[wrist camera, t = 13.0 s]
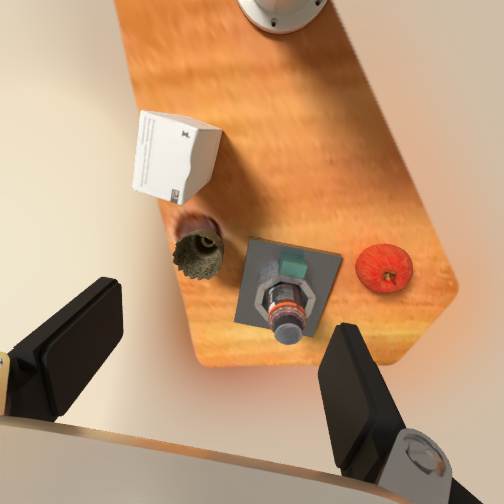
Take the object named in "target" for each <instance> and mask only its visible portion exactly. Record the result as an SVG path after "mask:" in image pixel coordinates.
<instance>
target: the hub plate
mask: <svg viewBox="0 0 504 504" xmlns="http://www.w3.org/2000/svg"><path fill="white" fill-rule="evenodd" d="M341 259H342V256H341V254H338V253H333V252H327V251H322V250H317V249H312V248H307V247H302V246H296V245H291V244H286V243H281V242H276V241H271V240H265V239H260V238H255V237H250V239H249V245H248V250H247V255H246V261H245V266H244V271H243V277H242V282H241V287H240V293H239V298H238V303H237V308H236V314H235V319H234V322H236V323H241V324H246V325H251V326H257V327H262V328H267V329H270V327H269V323H268V292H269V288H270V287H271V286H273V285H275V284H277V283H279V282H280V281H281V282H287V283H292V284H297V285H299V287H300V290H301V293H302V298H303V303H304V308H305V313H306V318H307V323H306V327H305V329H304V330H303V331H302V333H303V335H304V336H309V337H313V336H314V333H315V330H316V328H317V325H318V322H319V319H320V317H321V314H322V311H323V308H324V306H325V303H326V300H327V297H328V295H329V292H330V289H331V287H332V284H333V281H334V278H335V276H336V273H337V270H338V267H339V265H340V262H341Z"/></svg>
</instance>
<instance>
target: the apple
mask: <svg viewBox="0 0 504 504" xmlns="http://www.w3.org/2000/svg"><path fill="white" fill-rule="evenodd" d="M355 269H356V273H357V276H358V278H359V280H360V281H361V282H362V283H363V284H364V285H365V286H366V287H367V288H368V289H370V290H371V291H374V292H377V293H384V294H389V293H394V292H397V291H400V290H402V289H404V288H405V287H406V285H407V284H408V282H409V281H410V279H411V277H412V275H413V265H412V261H411V258H410V256H409V255H408V254H407V253H406V252H405V251H404V250H403V249H401V248H399V247H397V246H394V245H390V244H377V245H374V246H371V247H369V248H367V249H365V250H364V251H363V252H362V253H361V254H360V256H359V257H358V259H357V261H356V264H355Z"/></svg>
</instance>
